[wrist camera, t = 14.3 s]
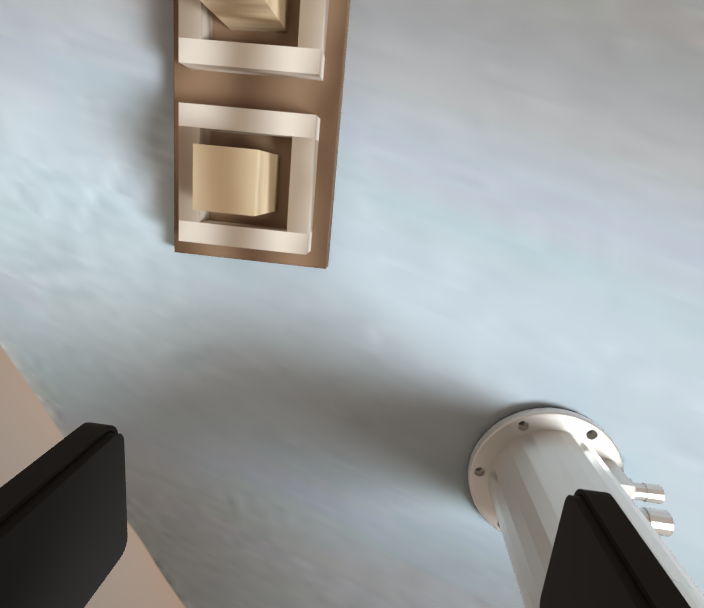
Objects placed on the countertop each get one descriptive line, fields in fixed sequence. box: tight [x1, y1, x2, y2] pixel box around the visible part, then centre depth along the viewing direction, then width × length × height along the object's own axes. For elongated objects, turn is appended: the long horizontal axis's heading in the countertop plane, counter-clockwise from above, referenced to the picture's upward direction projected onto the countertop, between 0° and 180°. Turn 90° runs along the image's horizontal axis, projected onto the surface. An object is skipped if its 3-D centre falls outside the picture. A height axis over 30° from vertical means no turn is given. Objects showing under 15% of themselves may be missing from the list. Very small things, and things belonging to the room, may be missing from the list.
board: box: [174, 0, 350, 269], centre depth 31 cm, size 12×24×8 cm, turn 174°
